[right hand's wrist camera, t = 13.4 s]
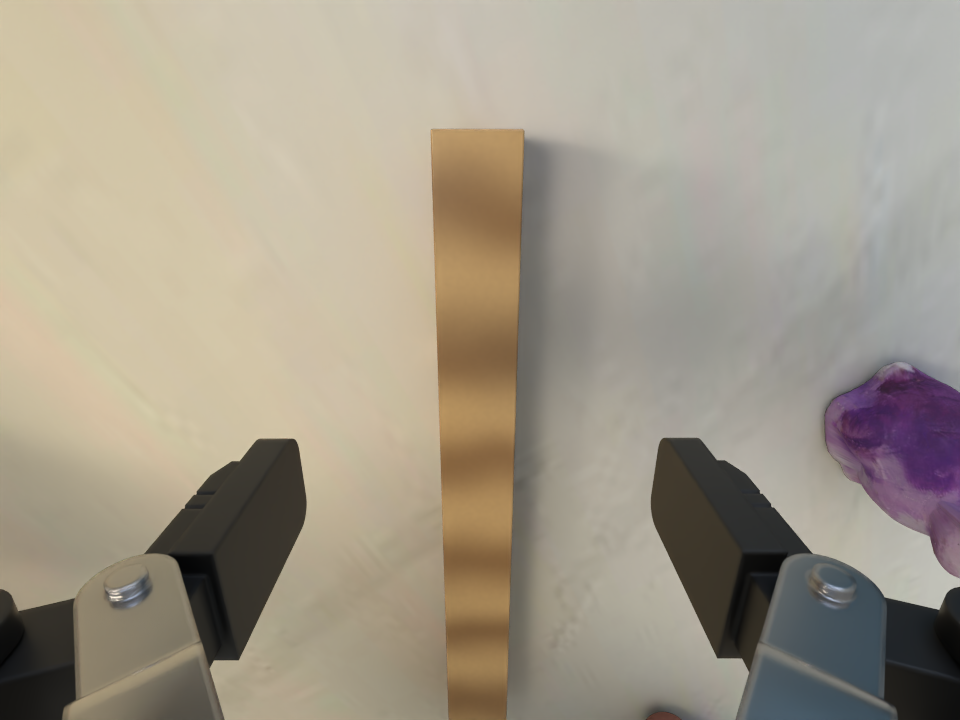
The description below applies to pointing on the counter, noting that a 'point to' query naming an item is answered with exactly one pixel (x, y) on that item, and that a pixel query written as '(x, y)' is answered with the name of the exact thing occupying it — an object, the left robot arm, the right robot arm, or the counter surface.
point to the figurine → (904, 451)
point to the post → (477, 400)
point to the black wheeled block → (663, 716)
